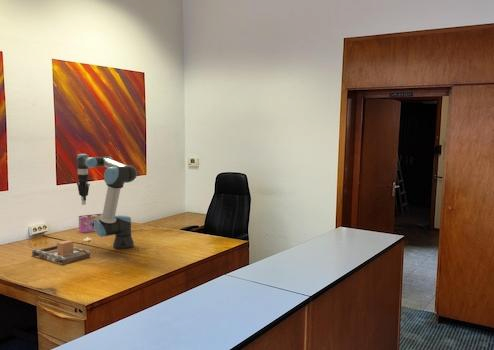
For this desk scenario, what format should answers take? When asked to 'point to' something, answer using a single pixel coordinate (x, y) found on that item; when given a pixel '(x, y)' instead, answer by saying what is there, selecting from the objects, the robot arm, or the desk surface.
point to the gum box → (88, 222)
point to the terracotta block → (65, 247)
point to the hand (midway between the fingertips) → (83, 204)
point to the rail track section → (53, 255)
